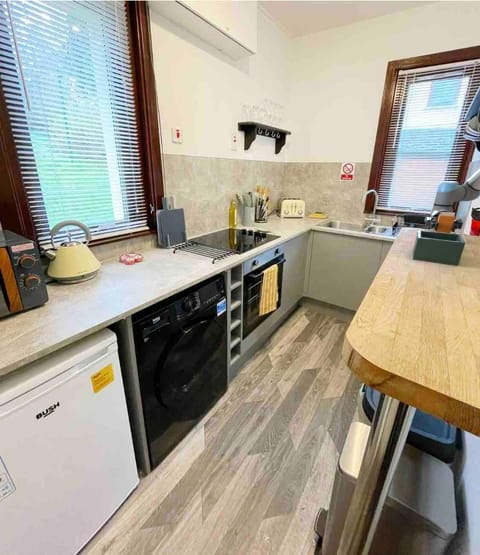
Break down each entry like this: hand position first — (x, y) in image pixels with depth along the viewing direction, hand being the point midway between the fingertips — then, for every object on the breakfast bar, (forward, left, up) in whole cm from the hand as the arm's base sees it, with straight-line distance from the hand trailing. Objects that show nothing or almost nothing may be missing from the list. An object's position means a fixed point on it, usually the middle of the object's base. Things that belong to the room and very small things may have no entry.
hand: (445, 227), depth 107 cm
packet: (0, -5, -6) cm, 8 cm away
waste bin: (+3, +21, -7) cm, 22 cm away
